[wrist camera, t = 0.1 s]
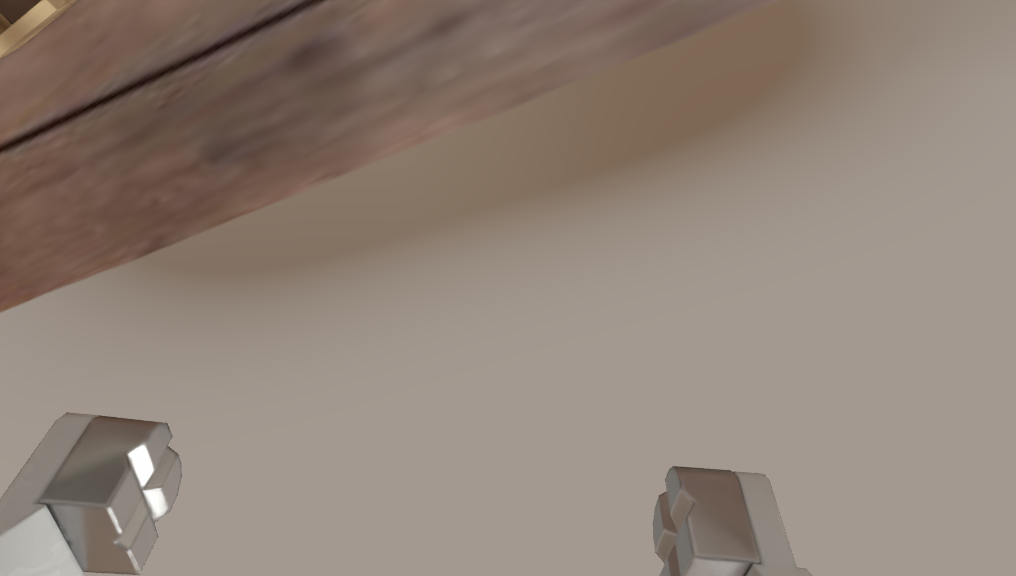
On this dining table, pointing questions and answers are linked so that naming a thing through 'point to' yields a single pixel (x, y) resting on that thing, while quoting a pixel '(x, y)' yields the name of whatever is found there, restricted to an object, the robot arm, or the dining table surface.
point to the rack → (29, 24)
